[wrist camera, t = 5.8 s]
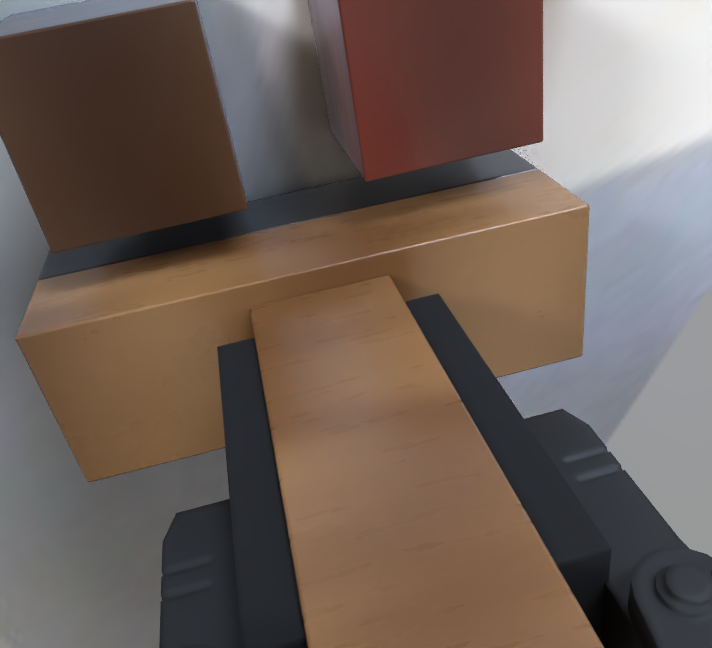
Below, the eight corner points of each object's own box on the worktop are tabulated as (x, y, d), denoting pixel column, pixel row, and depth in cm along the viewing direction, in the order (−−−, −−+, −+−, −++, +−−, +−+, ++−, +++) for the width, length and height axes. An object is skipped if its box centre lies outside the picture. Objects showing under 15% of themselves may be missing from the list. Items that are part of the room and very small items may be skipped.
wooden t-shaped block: (105, 371, 19) (-5, 1038, 8) (51, 244, 17) (-213, 910, 6) (508, 274, 20) (918, 725, 9) (505, 144, 18) (1039, 522, 7)
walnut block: (77, 187, 17) (52, 254, 14) (9, 14, 15) (-41, 44, 11) (235, 152, 17) (248, 209, 14) (191, -20, 15) (194, -2, 12)
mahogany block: (330, 131, 18) (365, 183, 14) (300, -41, 15) (332, -29, 12) (476, 99, 18) (544, 142, 15) (467, -73, 16) (543, -69, 12)
